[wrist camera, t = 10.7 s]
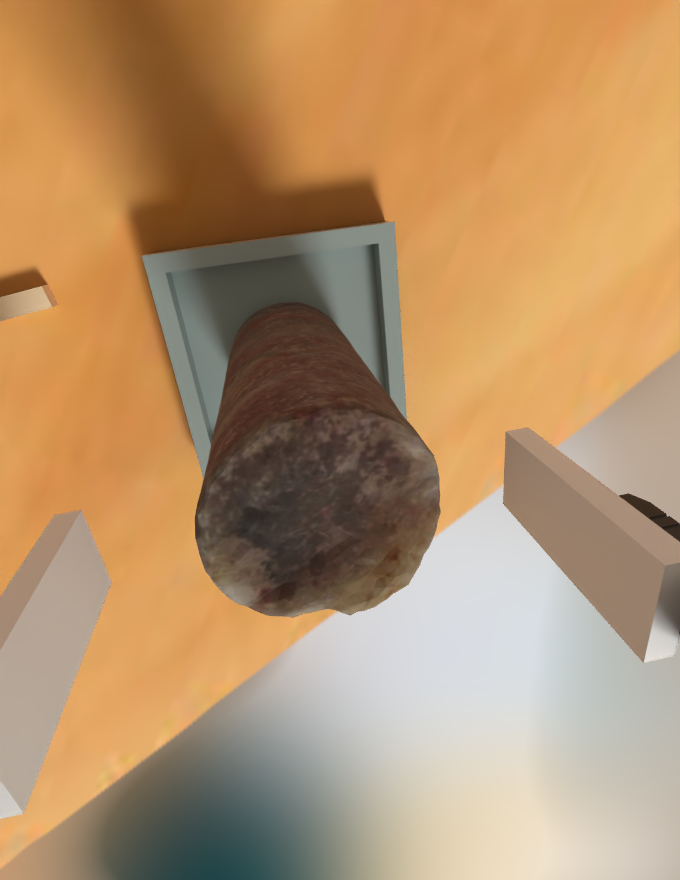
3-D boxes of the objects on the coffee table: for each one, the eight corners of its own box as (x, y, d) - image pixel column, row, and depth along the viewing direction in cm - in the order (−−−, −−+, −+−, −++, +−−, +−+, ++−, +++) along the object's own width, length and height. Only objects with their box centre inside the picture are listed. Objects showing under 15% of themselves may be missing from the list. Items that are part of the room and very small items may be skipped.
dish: (207, 463, 34) (203, 478, 32) (150, 253, 28) (141, 255, 26) (400, 430, 35) (408, 443, 33) (385, 221, 29) (394, 221, 27)
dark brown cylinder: (254, 274, 29) (245, 373, 11) (364, 320, 31) (509, 466, 13) (215, 389, 31) (155, 622, 13) (319, 424, 33) (388, 666, 16)
